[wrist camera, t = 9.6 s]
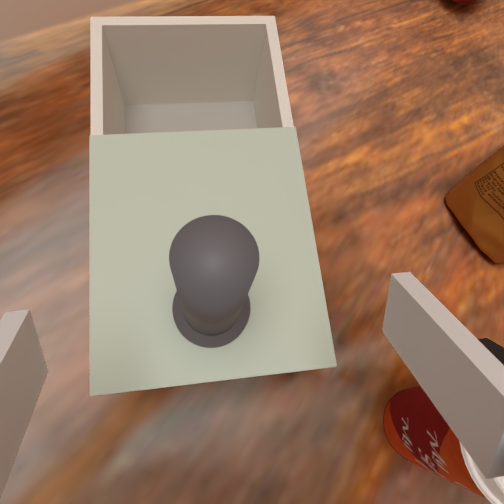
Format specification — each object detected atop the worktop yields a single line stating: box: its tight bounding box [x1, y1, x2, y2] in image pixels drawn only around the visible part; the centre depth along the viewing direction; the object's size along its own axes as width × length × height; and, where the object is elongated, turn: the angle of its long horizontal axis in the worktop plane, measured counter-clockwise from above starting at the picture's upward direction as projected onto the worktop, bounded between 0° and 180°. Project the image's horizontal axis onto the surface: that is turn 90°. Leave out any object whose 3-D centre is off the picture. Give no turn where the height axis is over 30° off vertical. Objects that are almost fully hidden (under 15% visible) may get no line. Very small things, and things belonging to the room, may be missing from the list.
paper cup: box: [384, 386, 504, 504], centre depth 28 cm, size 8×8×14 cm
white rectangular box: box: [91, 16, 294, 135], centre depth 35 cm, size 14×16×10 cm
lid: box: [90, 127, 337, 396], centre depth 21 cm, size 14×16×11 cm
